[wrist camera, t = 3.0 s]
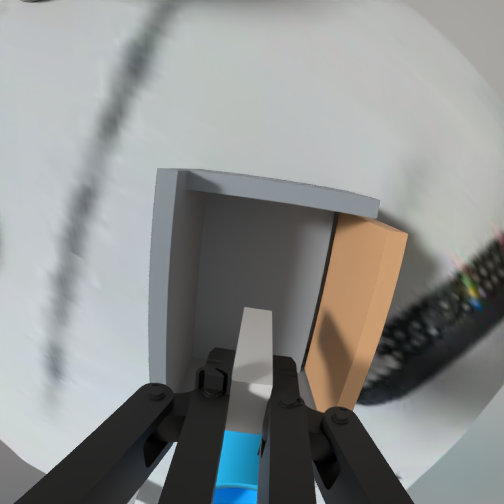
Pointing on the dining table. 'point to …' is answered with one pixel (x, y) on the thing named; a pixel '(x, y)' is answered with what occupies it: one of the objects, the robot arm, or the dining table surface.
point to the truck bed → (236, 265)
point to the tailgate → (353, 308)
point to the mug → (238, 469)
